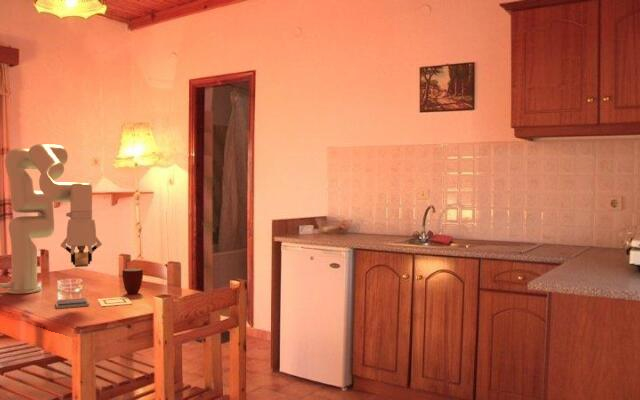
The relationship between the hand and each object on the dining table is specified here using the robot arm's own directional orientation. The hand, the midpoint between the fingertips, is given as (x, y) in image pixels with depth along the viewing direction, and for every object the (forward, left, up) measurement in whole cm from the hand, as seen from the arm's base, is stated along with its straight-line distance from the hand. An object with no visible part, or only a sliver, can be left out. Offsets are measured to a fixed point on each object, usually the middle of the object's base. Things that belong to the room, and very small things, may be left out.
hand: (81, 263), depth 212 cm
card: (+12, -1, -16) cm, 20 cm away
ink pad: (-3, 0, -16) cm, 16 cm away
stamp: (0, 0, -1) cm, 1 cm away
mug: (+21, +15, -16) cm, 30 cm away
